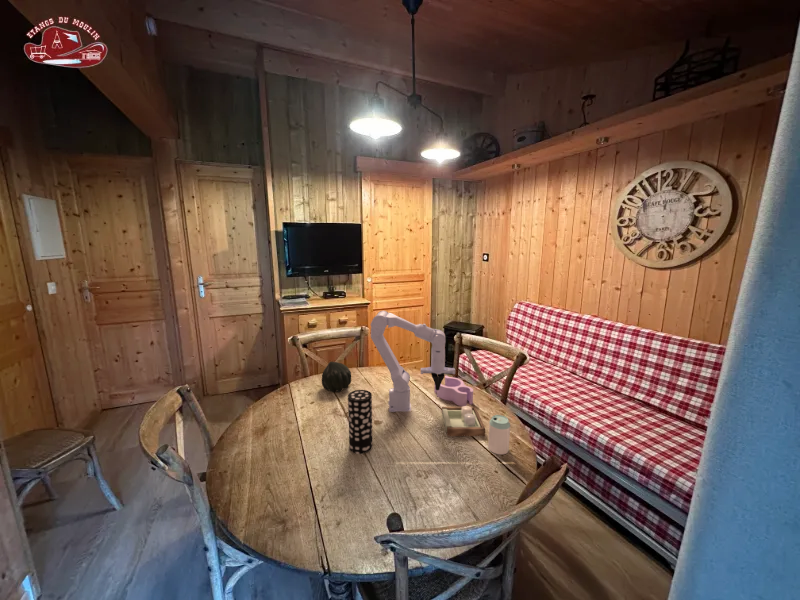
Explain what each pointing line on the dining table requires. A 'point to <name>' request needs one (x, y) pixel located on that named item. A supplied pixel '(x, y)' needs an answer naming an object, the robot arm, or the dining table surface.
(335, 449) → the dining table surface
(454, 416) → the tray
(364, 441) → the spotted tube
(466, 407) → the pale pink cylinder
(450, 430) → the rack
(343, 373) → the squash
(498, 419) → the can
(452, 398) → the clip
